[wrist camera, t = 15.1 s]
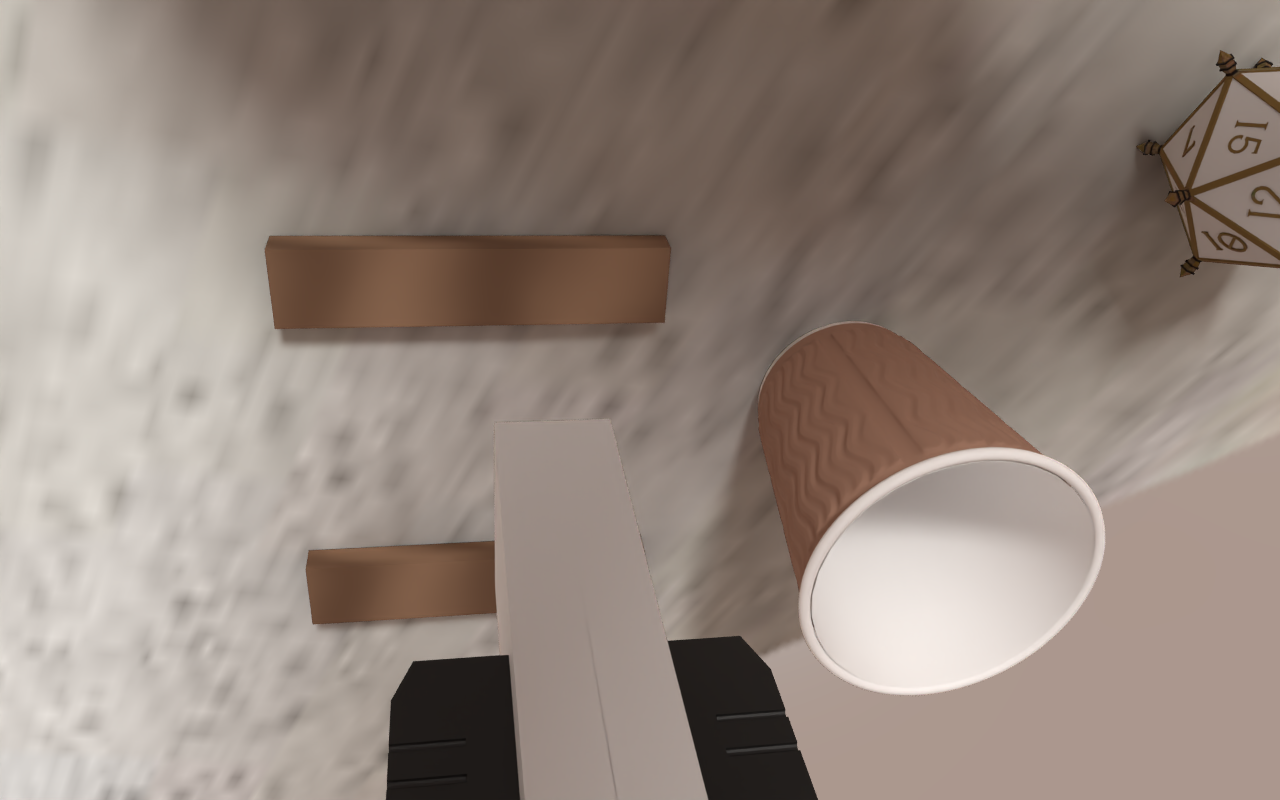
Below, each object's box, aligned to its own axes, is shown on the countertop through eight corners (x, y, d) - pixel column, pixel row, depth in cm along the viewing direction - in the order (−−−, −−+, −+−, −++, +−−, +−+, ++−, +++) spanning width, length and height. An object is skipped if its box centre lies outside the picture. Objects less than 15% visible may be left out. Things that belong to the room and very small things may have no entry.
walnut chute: (315, 604, 45) (312, 624, 44) (269, 236, 36) (264, 249, 35) (635, 585, 48) (640, 603, 47) (664, 235, 39) (671, 248, 38)
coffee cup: (757, 525, 47) (844, 737, 37) (682, 342, 41) (760, 532, 31) (974, 438, 46) (1123, 629, 36) (927, 240, 41) (1087, 401, 31)
